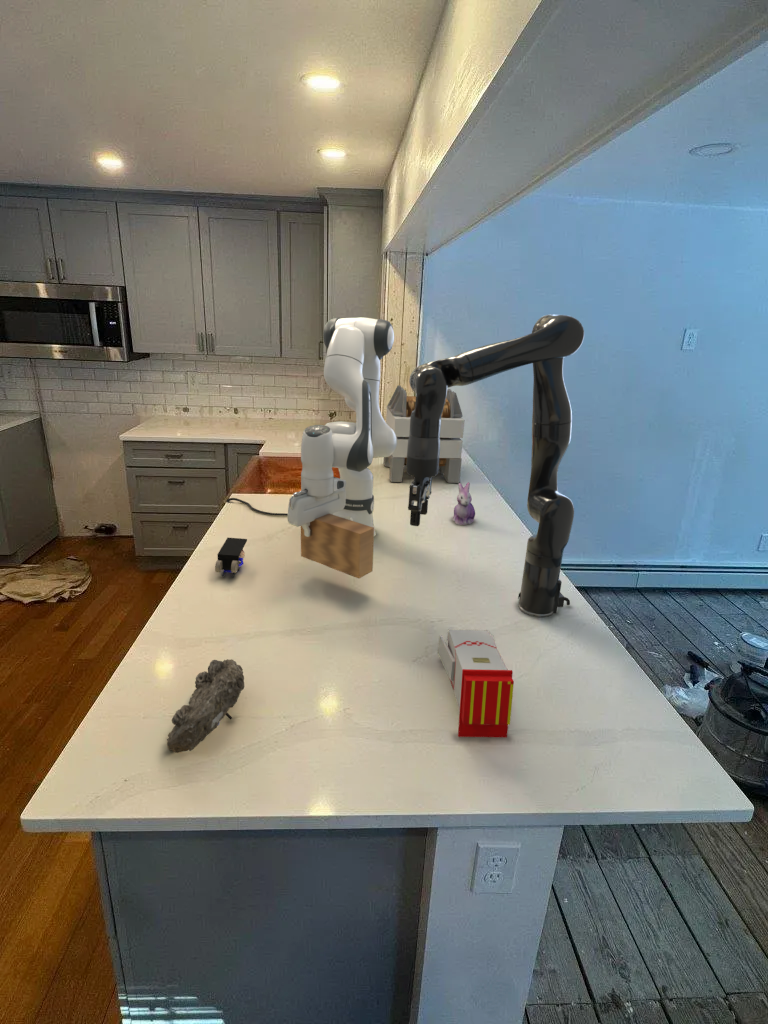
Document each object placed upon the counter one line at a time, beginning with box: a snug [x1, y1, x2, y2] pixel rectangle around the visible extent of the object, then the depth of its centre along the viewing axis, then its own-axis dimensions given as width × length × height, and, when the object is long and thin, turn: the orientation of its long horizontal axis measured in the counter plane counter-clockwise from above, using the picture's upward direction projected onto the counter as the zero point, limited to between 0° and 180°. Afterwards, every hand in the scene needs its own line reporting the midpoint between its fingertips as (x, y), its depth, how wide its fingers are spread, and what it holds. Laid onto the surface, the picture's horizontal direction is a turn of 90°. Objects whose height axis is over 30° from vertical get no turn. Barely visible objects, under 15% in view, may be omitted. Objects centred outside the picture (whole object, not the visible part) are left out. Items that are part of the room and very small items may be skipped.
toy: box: [437, 628, 515, 738], centre depth 117 cm, size 12×13×30 cm
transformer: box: [383, 384, 465, 484], centre depth 268 cm, size 34×33×41 cm
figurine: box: [452, 481, 476, 526], centre depth 212 cm, size 9×10×15 cm
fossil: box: [166, 658, 245, 754], centre depth 106 cm, size 22×10×15 cm
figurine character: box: [214, 537, 248, 578], centre depth 166 cm, size 7×8×15 cm
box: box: [300, 514, 375, 579], centre depth 157 cm, size 21×6×13 cm, turn 54°
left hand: (317, 531), depth 161 cm, fingers closed on box, 6 cm apart
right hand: (418, 519), depth 137 cm, fingers open, 8 cm apart
